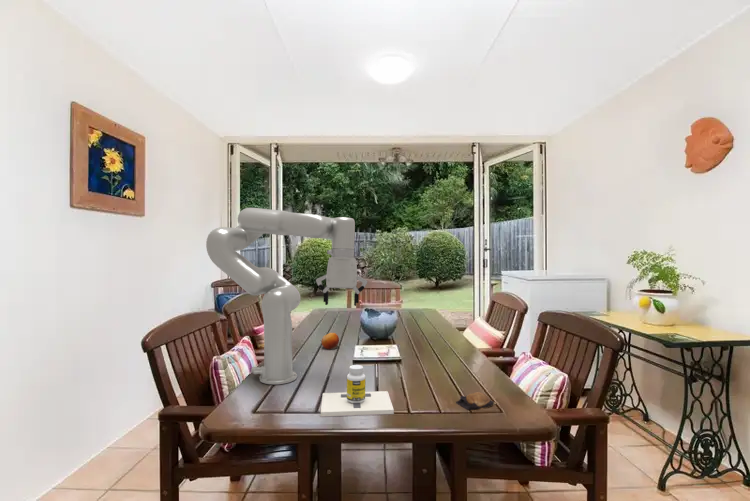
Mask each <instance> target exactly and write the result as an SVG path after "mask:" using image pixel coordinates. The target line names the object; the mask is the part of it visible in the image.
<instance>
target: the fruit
mask: <svg viewBox="0 0 750 501" xmlns="http://www.w3.org/2000/svg"><path fill="white" fill-rule="evenodd" d="M320 343H321V346H322V347H323V348H324V349H325V350H334V349H337V347H338V348H339V346H338V345H339V343H340V337H339V335H338V334H337V333H336V332H329V333H327V334H325V335H323V336H322V338H321V342H320Z"/></svg>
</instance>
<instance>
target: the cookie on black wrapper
mask: <svg viewBox="0 0 750 501" xmlns="http://www.w3.org/2000/svg"><path fill="white" fill-rule="evenodd" d="M455 404H456V405H458V406H460V407H462V408H463V409H465V410H468V411H470V412H476V411H481V410H484V409H486V408H490V407H491V408H492V407H493V406H495V405H497V402H496V401H494V400H493V401H492V400H491V398H490V397H489V396H488V395H487V394H485V393H483V392H481V391H477V392H472V393H469V394H467V395H465V396H464V395H461V396H460V397H459V400H457V401H455Z"/></svg>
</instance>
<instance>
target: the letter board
mask: <svg viewBox="0 0 750 501" xmlns="http://www.w3.org/2000/svg"><path fill="white" fill-rule="evenodd" d="M394 412H395V411H394V407H393V403H392V400H391V397H390V395H389V392H388V390H386V391H385V390H384V391H383V390H382V391H381V390H380V391H379V390H378V391H377V390H376V391H365V400H364V401H363V402H361V403H351V402H348V401H347V391H345V392H323V393H322V397H321V408H320V417H322V418H323V417H343V416H345V417H347V416H350V417H351V416H374V415H377V416H378V415H395V413H394Z"/></svg>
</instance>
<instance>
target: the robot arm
mask: <svg viewBox="0 0 750 501" xmlns="http://www.w3.org/2000/svg"><path fill="white" fill-rule="evenodd" d="M237 224H238V225H237V226H236V227H230V226H229V227H227V226H220V227H218V228H215V229H212V230H211V231H210V232H209V234H208V235H207V237H206V244H205V245H206V252H207V255H208V256H209V259H210V261H211V262H212V263H213V264H214V265H215V266H216V267H217V268H219V270H221V271H222V272H223V273H224V274H226V275H227V276H228V277H229V278H230V279H231V280H232V281H234V283H236V284H237V285H238V286H239V287H240V288H242V290H244V291H245V292H246V293H248V294H249V295H250V296H260V295H263V294H264V295H263V297H262V299H261V300H262V301H261V311H262V316H263V336H264V337H263V341H264V342H263V348H264V349H263V352H264V354H263V357H264V358H263V361H264V362H263V363H264V364H263V365H261V367H260V366H253V367H251V370H250V371H251V374H253V375H260V376H259V382H261V383H263V384H266V385H283V384H288V383H292V382H294V381H295V380H297V378H298V374H297V372H296V371H294V370H293V320H292V316H291V311H294V310H296V309H297V308H298V306H300V303H301V299H302V298H301V293H300V292H299V290H298V288H296V286H295V285H294V284H292V283H291V282H290V281H289V280H287V279H286V278H285V277H284V276H282V274H280V273H279V272H277V271H276V270H275V269H273V268H271V267H267V266H264V267H262V266H261V267H258V266H256V265H255V264H253V263H252V262H251V261H250V260H248V259H247V258H246V257H245V256H243V255H242V254H241V253H238V251H242V250H243V251H244V250H245V249H246V248H248V247H249V246H250V245H252V244H253V243H254V242H255V241H257V240H258V239H260V238H261V237H262V235H264V234H265V235H266V234H267V235H275V236H282V237H283V236H294V237H304V238H311V239H331V249H329V250H328V249H327V251H326V253H327V255H330V256H331V257H328V261H327V268H326V274H324V275H322V276H320V277H318V278H316V279H315V282H316V284H317V286H318V289H320V290H321V291H322V293H323V303H324V304H325V305H326V306H327V305H329V289H331V288H332V289H352V290H353V291H354V295H353V296H354V297H353V298H354V299H353V301H354V302H353V306H355V307H357V304H359V301H360V300H359V296H360V295H359V294H360V293H362V292H363V290H364V289H365V288H366V286H367V284H368V280H366V279H365V278H363V277H362V276H360V275H358V266H357V264H358V263H357V259H356V258H355V234H356V233H355V229H356V226H355V225H356V222H355V219H354V218H352V217H345V216H344V217H343V216H338V217H327V216H323V215H321V214H320V215H319V214H311V213H303V212H302V213H301V212H300V213H299V212H290V211H287V210H282V209H281V210H279V209H269V208H261V207H246V208H243V209H242V210H240V212H239V213H238V215H237ZM324 280H325V283H326V286H324V285H323V282H322V281H324ZM358 281H359V282H361V283H362V284H361V286H359V288H358V287H357V284H358Z"/></svg>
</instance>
